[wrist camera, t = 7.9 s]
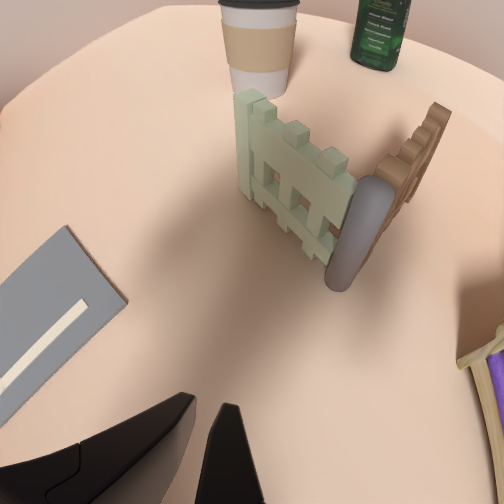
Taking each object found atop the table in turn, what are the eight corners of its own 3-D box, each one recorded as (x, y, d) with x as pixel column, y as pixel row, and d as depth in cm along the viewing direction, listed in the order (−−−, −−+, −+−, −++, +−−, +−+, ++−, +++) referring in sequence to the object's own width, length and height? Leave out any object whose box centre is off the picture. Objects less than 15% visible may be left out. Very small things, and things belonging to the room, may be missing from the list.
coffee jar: (392, 78, 42) (414, -27, 26) (345, 62, 44) (358, -42, 28) (399, 60, 46) (418, -29, 30) (358, 46, 48) (370, -42, 32)
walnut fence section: (356, 274, 24) (401, 182, 15) (339, 262, 24) (376, 166, 16) (413, 194, 28) (451, 111, 20) (400, 185, 29) (434, 101, 20)
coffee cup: (235, 70, 41) (231, -25, 29) (298, 77, 40) (305, -22, 27) (214, 100, 37) (204, -13, 24) (288, 109, 35) (294, -11, 23)
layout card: (0, 428, 17) (-3, 427, 16) (-40, 332, 21) (-42, 331, 20) (127, 304, 23) (125, 302, 22) (65, 227, 27) (63, 224, 26)
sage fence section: (356, 281, 23) (401, 194, 15) (337, 297, 22) (378, 211, 14) (255, 180, 28) (255, 86, 20) (237, 190, 28) (230, 95, 20)
